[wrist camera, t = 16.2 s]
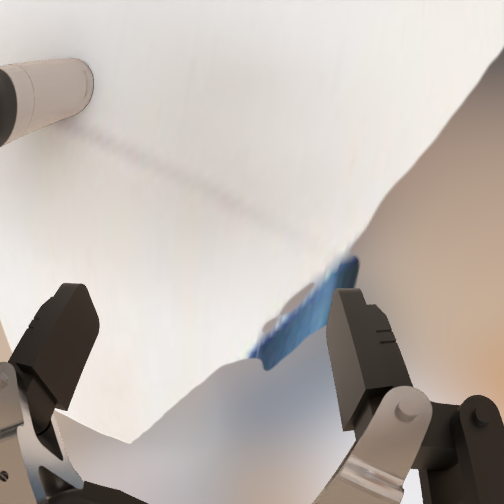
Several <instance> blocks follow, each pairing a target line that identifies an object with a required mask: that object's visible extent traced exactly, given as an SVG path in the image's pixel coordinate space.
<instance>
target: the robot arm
mask: <svg viewBox="0 0 504 504" xmlns="http://www.w3.org/2000/svg"><path fill="white" fill-rule="evenodd" d="M92 92H93V76H92V73H91V71H90V69H89V67H88V66H87V65H86V64H85V63H84V62H83V61H81V60H79V59H75V58H68V59H51V60H41V61H32V62H24V63H16V64H10V65H4V66H0V147H1V146H3V145H5V144H7V143H10V142H12V141H14V140H16V139H18V138H20V137H22V136H24V135H26V134H29V133H31V132H33V131H36V130H38V129H40V128H43V127H45V126H47V125H50V124H52V123H55V122H57V121H60V120H63V119H65V118H68V117H71V116H73V115H76V114H78V113H79V112H80V111H82V110H83V109H84V108H85V107H86V105H87V104H88V102H89V101H90V98H91V95H92ZM391 330H392V329H391V326H390V324H389V321H388V319H387V317H386V315H385V314H384V313H383V312H382V311H381V310H380V309H379V308H378V307H377V306H376V305H375V304H374V305H366V302H365V299H364V297H363V294H362V292H361V290H360V289H358V288H350V289H335V291H334V293H333V298H332V303H331V308H330V312H329V317H328V322H327V329H326V338H327V345H328V350H329V355H330V361H331V366H332V371H333V376H334V382H335V386H336V393H337V398H338V404H339V409H340V416H341V422H342V428H343V431H351V430H354V432H355V437H356V441H355V442H354V444H353V446H352V447H351V449H350V451H349V452H348V454H347V455H346V457H345V458H344V460H343V461H342V463H341V465H340V466H339V467H338V469H337V470H336V472H335V473H334V475H333V476H332V478H331V479H330V481H329V482H328V483H327V485H326V486H325V488H324V489H323V491H322V492H321V493H320V494H319V496H318V497H317V498H316V499H315V500H314V502H313V503H312V504H400V502H401V500H402V497H403V494H404V489H403V488H402V486H403V483H404V480H405V478H406V476H407V474H408V472H409V470H410V469H418V470H419V477H420V483H421V490H422V498H423V504H504V425H503V422H502V419H501V416H500V413H499V410H498V408H497V406H496V405H495V404H494V403H493V401H491V400H490V399H489V398H487V397H484V396H481V395H474V396H471V397H469V398H467V399H466V400H465V401H464V402H463V403H462V404H461V405H450V404H441V403H435V402H431V401H430V400H429V399H428V397H427V396H426V395H425V394H424V393H423V392H422V391H420V390H418V389H416V388H414V387H413V385H412V383H411V380H410V377H409V374H408V371H407V368H406V366H405V363H404V360H403V357H402V355H401V352H400V349H399V347H398V345H397V343H396V339H395V336H394V334H393V332H392V331H391ZM98 333H99V318H98V315H97V313H96V310H95V308H94V305H93V303H92V300H91V298H90V295H89V292H88V290H87V288H86V286H85V285H84V284H75V283H63V284H62V285H61V286H60V287H59V289H58V290H57V292H56V294H55V295H54V297H51V298H50V299H49V300H48V301H46V302H45V303H44V304H43V305H42V306H41V307H40V309H39V310H38V312H37V313H36V315H35V317H34V320H32V321H31V323H30V325H29V329H27V330H26V331H25V333H24V335H23V336H22V338H21V340H20V341H19V343H18V345H17V347H16V348H15V350H14V352H13V354H12V356H11V357H10V359H9V361H8V362H0V504H148V503H146V502H143V501H141V500H139V499H137V498H135V497H132V496H130V495H128V494H126V493H124V492H122V491H120V490H116V489H112V488H108V487H104V486H100V485H97V484H93V483H90V482H87V481H84V482H83V480H82V479H81V477H80V476H79V474H78V473H77V472H76V471H75V469H74V468H73V466H72V464H71V462H70V460H69V457H68V455H67V452H66V449H65V446H64V444H63V441H62V438H61V435H60V431H59V428H58V425H57V422H56V419H55V417H54V415H53V411H54V409H55V408H57V409H61V410H65V411H67V410H68V407H69V405H70V402H71V399H72V397H73V394H74V391H75V389H76V386H77V384H78V381H79V378H80V376H81V373H82V371H83V369H84V366H85V364H86V361H87V359H88V357H89V354H90V352H91V349H92V347H93V345H94V343H95V340H96V338H97V336H98Z"/></svg>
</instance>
